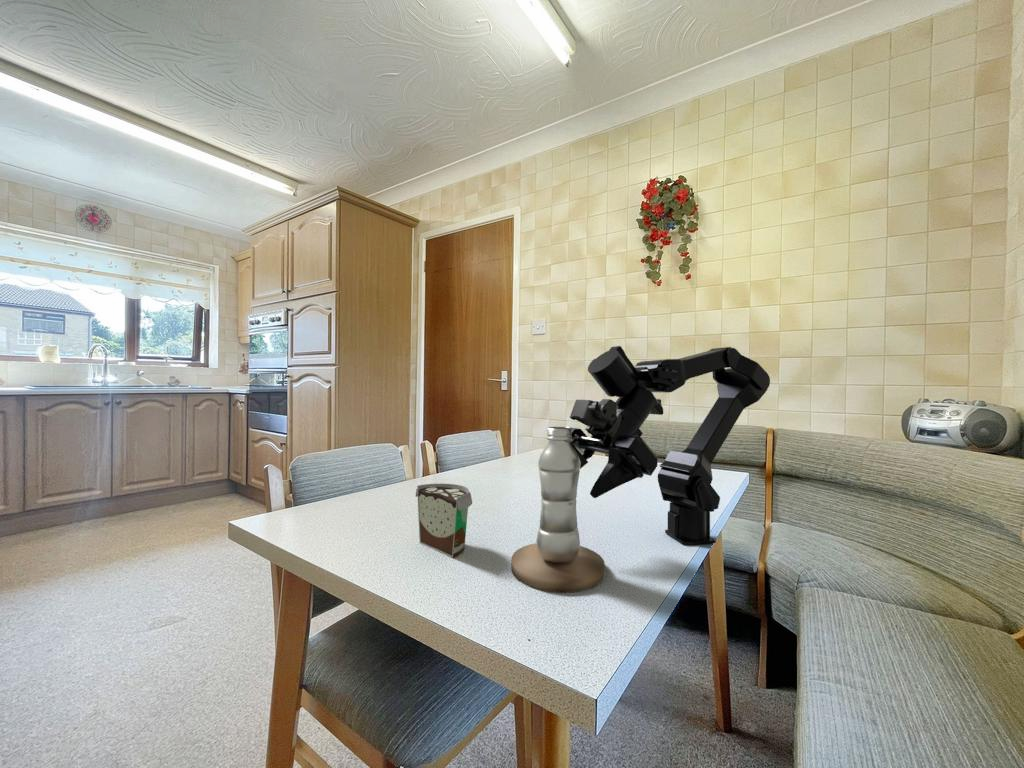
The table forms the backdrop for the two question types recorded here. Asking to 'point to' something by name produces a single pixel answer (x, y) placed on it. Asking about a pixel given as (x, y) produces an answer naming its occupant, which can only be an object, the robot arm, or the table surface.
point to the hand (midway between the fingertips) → (573, 489)
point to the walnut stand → (558, 570)
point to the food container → (443, 517)
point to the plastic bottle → (558, 498)
